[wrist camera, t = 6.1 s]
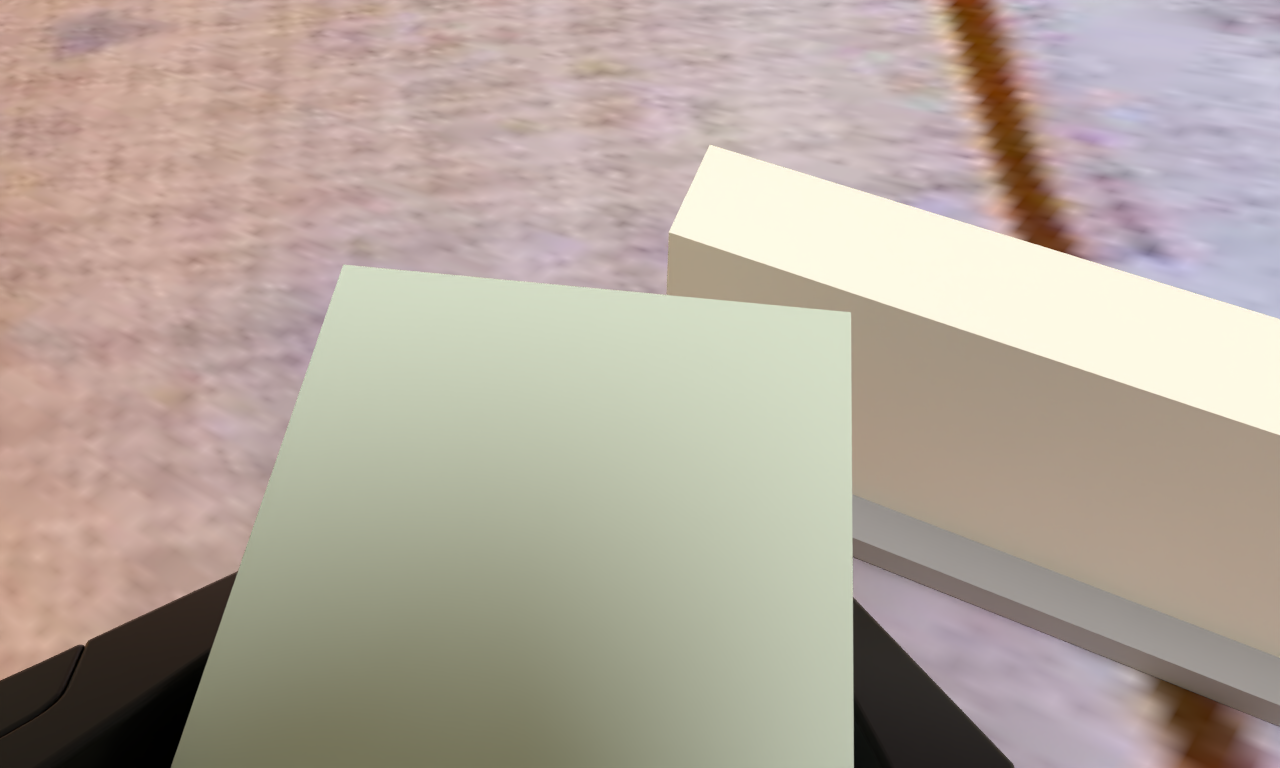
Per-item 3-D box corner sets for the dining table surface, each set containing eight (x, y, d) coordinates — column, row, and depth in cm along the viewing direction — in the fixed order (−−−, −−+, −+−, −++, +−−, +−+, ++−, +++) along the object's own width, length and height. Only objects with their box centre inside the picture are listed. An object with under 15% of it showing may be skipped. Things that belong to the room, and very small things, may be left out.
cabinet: (713, 835, 13) (856, 1243, 4) (466, 799, 13) (55, 1102, 4) (732, 520, 15) (851, 311, 6) (523, 496, 16) (343, 264, 7)
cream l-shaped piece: (1305, 736, 19) (2273, 860, 7) (647, 475, 22) (641, 290, 11) (1316, 419, 22) (1987, 182, 11) (748, 233, 25) (822, -95, 14)
